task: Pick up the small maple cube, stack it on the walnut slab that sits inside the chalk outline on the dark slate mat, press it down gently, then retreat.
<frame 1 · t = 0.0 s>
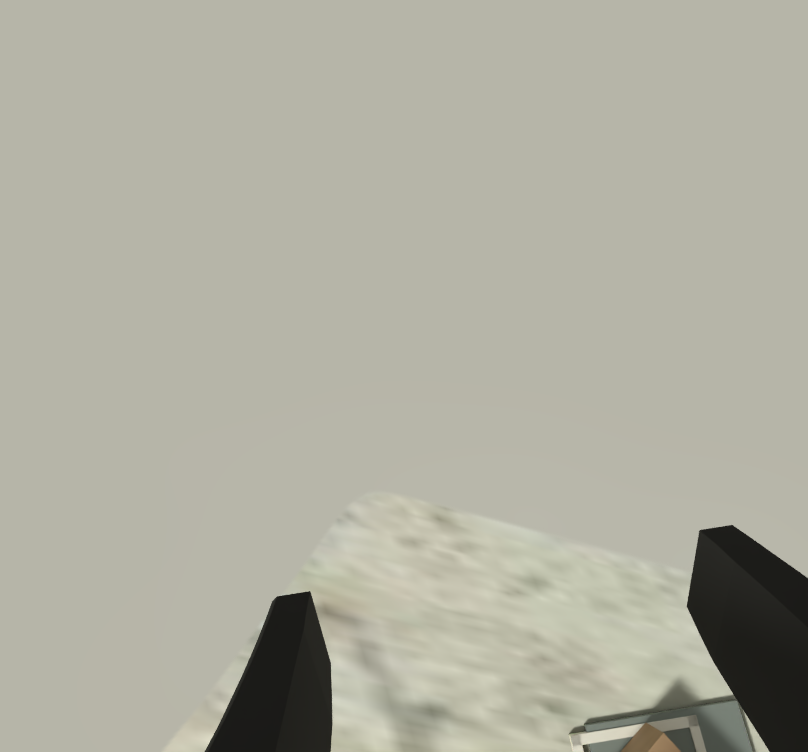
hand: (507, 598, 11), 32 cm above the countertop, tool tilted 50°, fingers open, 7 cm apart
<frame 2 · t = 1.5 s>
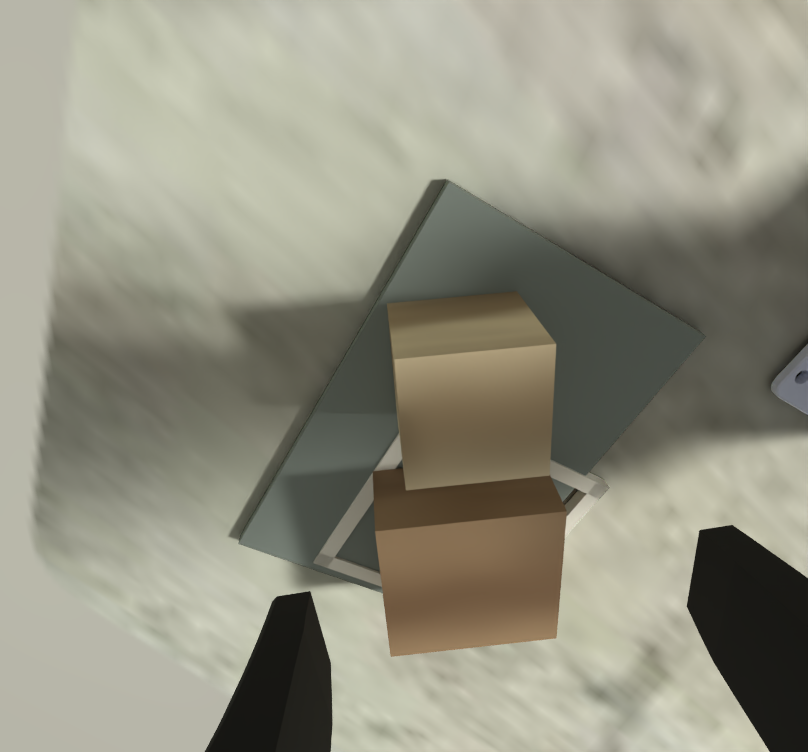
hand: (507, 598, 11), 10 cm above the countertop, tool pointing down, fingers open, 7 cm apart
slate mat: (454, 440, 21), on the countertop
maple cube: (454, 356, 19), resting on slate mat
walnut slab: (458, 526, 22), resting on slate mat
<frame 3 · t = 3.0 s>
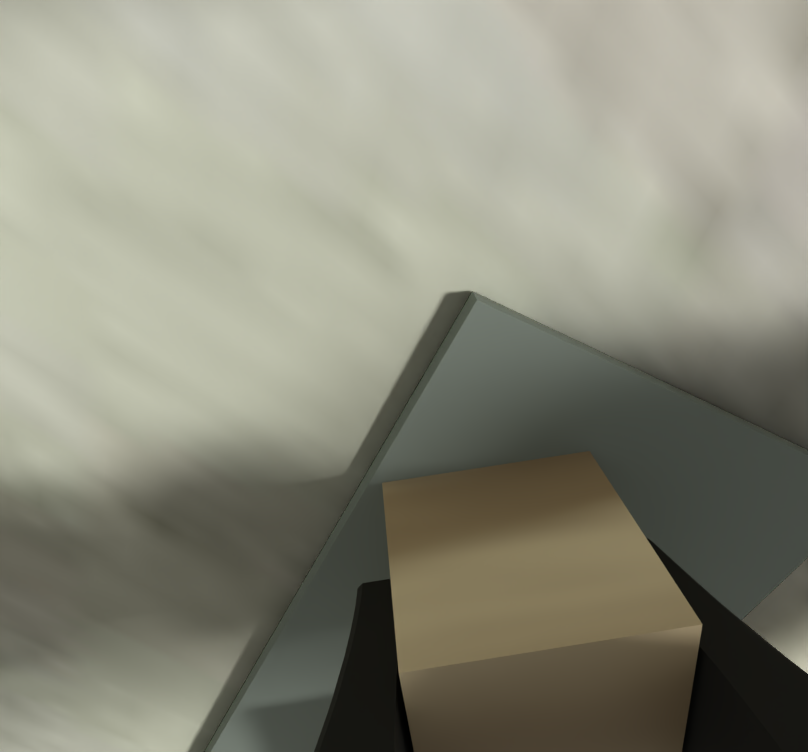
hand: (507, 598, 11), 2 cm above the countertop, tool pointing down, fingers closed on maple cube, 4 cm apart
slate mat: (493, 640, 14), on the countertop
maple cube: (491, 545, 12), resting on slate mat, touching gripper
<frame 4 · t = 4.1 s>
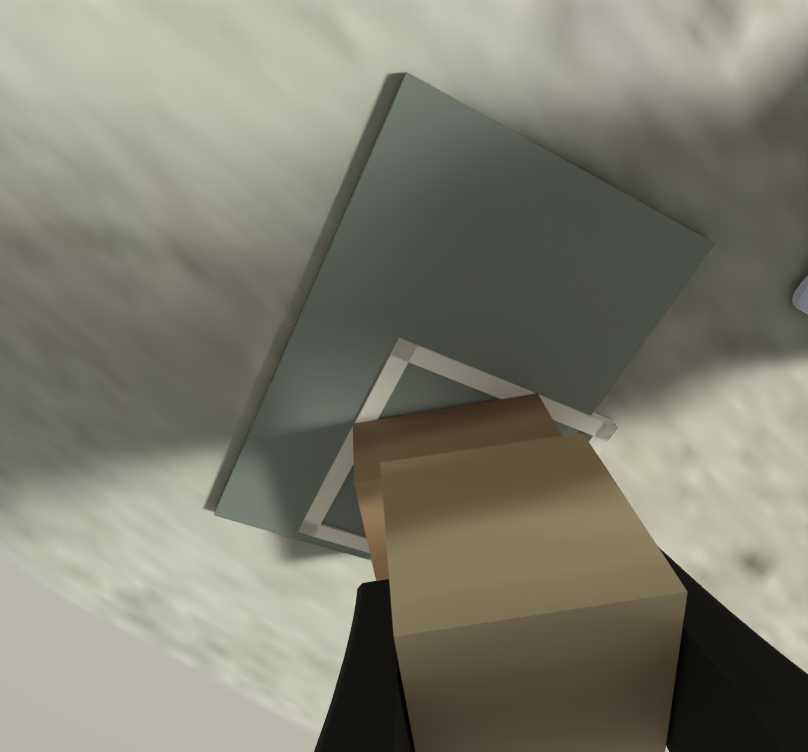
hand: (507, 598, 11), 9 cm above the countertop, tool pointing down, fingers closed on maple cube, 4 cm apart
slate mat: (441, 384, 19), on the countertop
maple cube: (487, 526, 12), point 7 cm above the countertop, touching gripper
walnut slab: (454, 481, 20), resting on slate mat
when the fingers open (6 cm above the countertop, at t = 5.3 s): maple cube stays where it is, resting on walnut slab.
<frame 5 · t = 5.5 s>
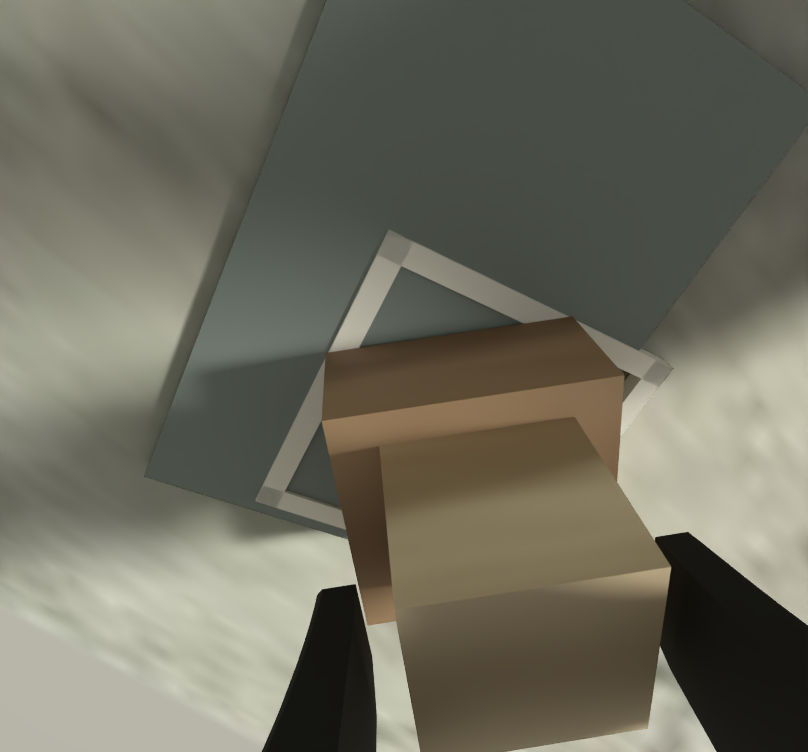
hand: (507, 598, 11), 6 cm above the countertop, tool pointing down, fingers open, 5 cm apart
slate mat: (445, 303, 14), on the countertop
maple cube: (482, 506, 13), point 3 cm above the countertop, touching walnut slab
walnut slab: (458, 436, 16), resting on slate mat, touching maple cube
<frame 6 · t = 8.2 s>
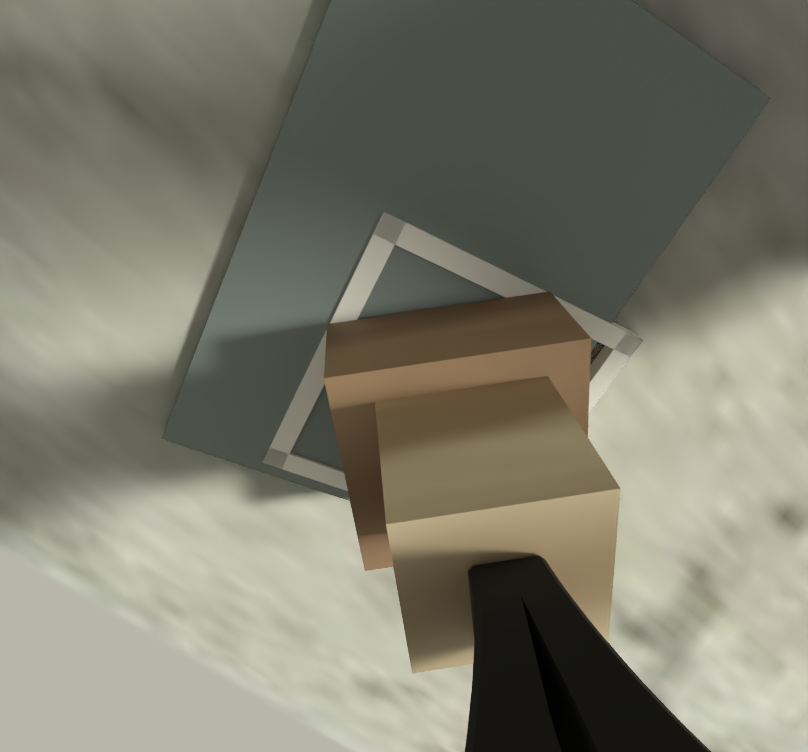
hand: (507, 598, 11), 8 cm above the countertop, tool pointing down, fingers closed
slate mat: (434, 279, 16), on the countertop
maple cube: (467, 458, 14), point 3 cm above the countertop, touching walnut slab
walnut slab: (448, 402, 17), resting on slate mat, touching maple cube
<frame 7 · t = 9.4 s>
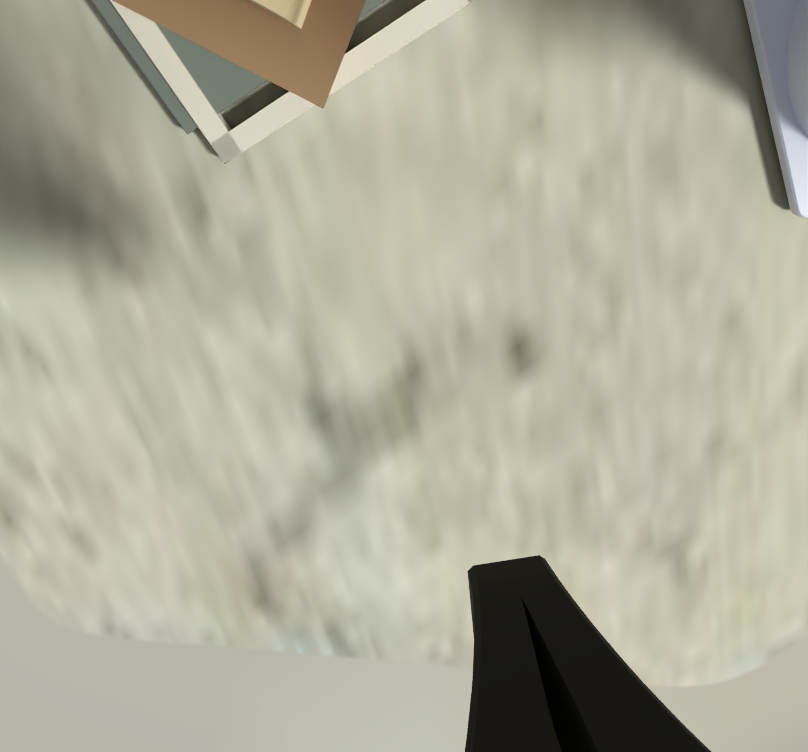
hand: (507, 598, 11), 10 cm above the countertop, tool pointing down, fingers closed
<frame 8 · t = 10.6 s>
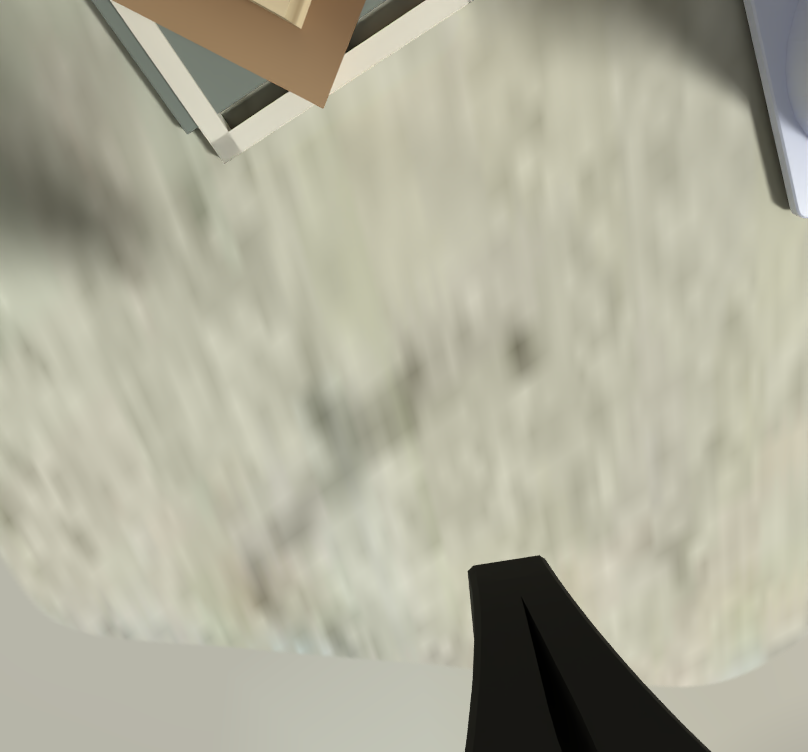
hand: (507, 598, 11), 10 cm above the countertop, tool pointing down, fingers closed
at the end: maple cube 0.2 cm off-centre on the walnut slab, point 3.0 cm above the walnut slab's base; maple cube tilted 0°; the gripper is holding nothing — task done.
